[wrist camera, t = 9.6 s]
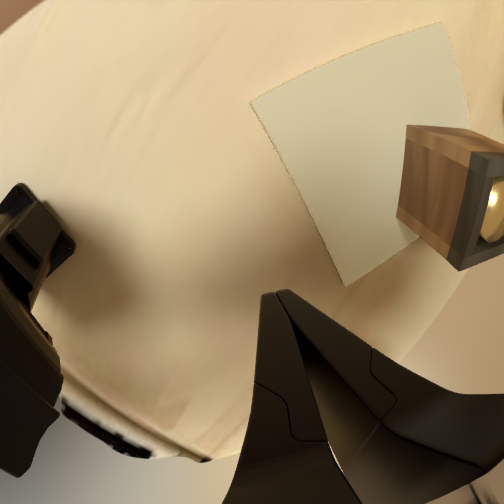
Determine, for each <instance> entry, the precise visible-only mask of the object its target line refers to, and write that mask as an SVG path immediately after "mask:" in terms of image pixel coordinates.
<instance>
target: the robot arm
mask: <svg viewBox="0 0 504 504" xmlns="http://www.w3.org/2000/svg"><path fill="white" fill-rule="evenodd" d="M17 189H19V190H20V191H21V194H19V193H18V191H17ZM67 246H70V247H71V248H72V249H69V248H67ZM75 249H76V244H75V243H74V241H73V240H72V239H71V238H70V237H69V236H68V235H67V234H66V233H65V232H64V231H63V230H62V229H61V226H60V225H59V224H58V223H57V222H56V220H55V219H54V218H53V217H52V216H51V215H50V214H49V213H48V212H47V210H46V209H45V208H44V207H43V206H42V205H41V203H40V202H38V201H37V200H36V199H35V198H34V197H33V196H32V194H31V193H30V192H29V191H28V190H27V188H26V187H25V186H24V185H23V184H21V183H18V184H16V185H15V186H14V187H13V188H12V189H11V191H10V192H9V193H8V194H7V196H6V197H5V198H4V200H3V201H2V202H1V203H0V469H1V470H3V471H5V472H7V473H9V474H10V475H12V476H14V477H16V478H19V477H21V476H22V475H23V474H24V473H25V472H26V471H27V470H28V469H29V468H30V466H31V464H32V460H33V457H34V454H35V451H36V448H37V446H38V443H39V441H40V439H41V437H42V436H43V434H44V433H45V431H46V430H47V428H48V427H49V426H50V425H51V424H52V423H53V422H54V421H55V420H56V419H57V418H58V417H59V415H60V413H59V412H58V411H57V410H56V409H55V408H53V407H54V406H55V404H56V401H57V399H58V397H59V394H60V392H61V389H62V384H63V380H64V376H63V375H62V374H61V373H60V372H61V369H60V358H59V356H58V354H57V352H56V350H55V348H54V347H53V344H52V337H51V336H50V335H49V333H48V332H47V331H44V329H43V328H42V327H41V325H40V324H39V323H38V321H37V320H36V319H35V317H34V316H33V315H32V313H31V311H32V308H33V306H34V303H35V301H36V298H37V296H38V294H39V291H40V289H41V287H42V285H43V282H44V280H45V279H46V278H47V277H48V276H49V275H50V274H51V273H52V272H53V271H54V270H55V269H56V268H58V267H59V266H60V265H61V264H62V263H63V262H64V261H65V260H66V259H68V258H69V257H70V256H71V255H72V254H73V253H74V252H75ZM328 442H329V443H328ZM329 444H330V446H331V448H332V450H333V452H334V454H335V456H336V458H337V460H338V462H339V465H340V466H341V469H342V470H343V472H342V471H341V469H340V468H339V466H338V464H337V463H336V461H335V459H334V457H333V454H332V451H331V449H330V446H329ZM343 473H344V474H343ZM344 475H345V476H344ZM222 504H504V394H460V393H455V392H452V391H449V390H447V389H445V388H443V387H440V386H439V385H437V384H435V383H433V382H431V381H429V380H427V379H425V378H423V377H421V376H419V375H418V374H416V373H414V372H412V371H410V370H408V369H407V368H405V367H403V366H401V365H399V364H398V363H396V362H394V361H393V360H391V359H390V358H388V357H387V356H385V355H384V354H382V353H381V352H379V351H378V350H376V349H375V348H372V346H370V345H369V344H367V343H366V342H364V341H363V340H362V339H360V338H359V337H357V336H356V335H354V334H353V333H351V332H350V331H348V330H347V329H346V328H344V327H343V326H341V325H340V324H338V323H337V322H335V321H334V320H333V319H331V318H330V317H328V316H327V315H325V314H324V313H322V312H321V311H320V310H318V309H317V308H315V307H314V306H312V305H311V304H310V303H308V302H307V301H305V300H304V299H302V298H301V297H299V296H298V295H297V294H295V293H294V292H292V291H291V290H289V289H283V290H279V291H276V292H275V293H274V292H270V293H265V294H262V295H261V301H260V314H259V327H258V340H257V352H256V365H255V377H254V387H253V398H252V406H251V413H250V417H249V422H248V426H247V431H246V434H245V438H244V442H243V446H242V449H241V453H240V457H239V460H238V464H237V468H236V471H235V474H234V478H233V480H232V483H231V486H230V488H229V490H228V493H227V495H226V497H225V498H224V500H223V502H222Z"/></svg>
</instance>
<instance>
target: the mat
mask: <svg viewBox="0 0 504 504" xmlns="http://www.w3.org/2000/svg"><path fill="white" fill-rule="evenodd" d="M249 103H250V105H251V107H252V108H253V110H254V112H255V113H256V115H257V117H258V119H259V120H260V122H261V124H262V126H263V127H264V129H265V131H266V133H267V134H268V136H269V138H270V140H271V141H272V143H273V145H274V147H275V149H276V150H277V152H278V154H279V156H280V158H281V160H282V161H283V163H284V165H285V167H286V169H287V171H288V173H289V174H290V176H291V178H292V180H293V182H294V184H295V186H296V188H297V190H298V192H299V193H300V195H301V197H302V199H303V201H304V203H305V205H306V207H307V209H308V211H309V213H310V215H311V217H312V219H313V221H314V223H315V225H316V227H317V229H318V231H319V233H320V235H321V237H322V239H323V242H324V244H325V246H326V248H327V250H328V252H329V254H330V256H331V258H332V260H333V263H334V265H335V267H336V269H337V271H338V273H339V276H340V278H341V280H342V282H343V284H344V286H345V287H347V286H349V285H350V284H352V283H353V282H355V281H356V280H358V279H359V278H361V277H363V276H364V275H366V274H367V273H369V272H370V271H372V270H373V269H375V268H376V267H378V266H379V265H381V264H382V263H384V262H385V261H387V260H388V259H390V258H391V257H392V256H394V255H395V254H397V253H398V252H400V251H401V250H403V249H404V248H405V247H407V246H408V245H410V244H411V243H412V242H414V241H415V240H417V239H418V238H419V237H420V236H419V235H417V234H416V233H415V232H414V231H413V230H411V229H410V228H409V227H408V226H407V225H405V224H404V223H403V222H402V221H400V220H399V219H398V218H397V217H396V213H397V207H398V200H399V193H400V186H401V178H402V170H403V161H404V151H405V139H406V125H425V126H440V127H452V128H463V129H468V130H471V125H470V119H469V113H468V108H467V103H466V98H465V93H464V89H463V85H462V80H461V76H460V72H459V69H458V65H457V61H456V58H455V54H454V51H453V48H452V45H451V42H450V39H449V36H448V33H447V30H446V27H445V24H444V22H439V23H435V24H432V25H428V26H425V27H421V28H418V29H415V30H411V31H408V32H405V33H402V34H399V35H396V36H393V37H390V38H387V39H384V40H382V41H379V42H376V43H373V44H371V45H368V46H366V47H363V48H360V49H358V50H355V51H353V52H350V53H348V54H346V55H343V56H341V57H338V58H336V59H334V60H332V61H329V62H327V63H325V64H323V65H320V66H318V67H316V68H314V69H312V70H310V71H307V72H305V73H303V74H301V75H299V76H297V77H295V78H293V79H291V80H289V81H287V82H285V83H283V84H281V85H279V86H277V87H275V88H274V89H272V90H270V91H268V92H266V93H264V94H262V95H260V96H259V97H257V98H255V99H253V100H251V101H250V102H249Z"/></svg>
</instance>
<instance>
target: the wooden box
mask: <svg viewBox="0 0 504 504" xmlns="http://www.w3.org/2000/svg"><path fill="white" fill-rule="evenodd" d="M497 176H504V145H503V144H501V143H499V142H497V141H494V140H492V139H490V138H488V137H485V136H483V135H481V134H478V133H476V132H473V131H471V130H468V129H463V128H452V127H440V126H425V125H406V139H405V151H404V161H403V170H402V178H401V186H400V193H399V200H398V207H397V213H396V217H397V218H398V219H399V220H400V221H402V222H403V223H404V224H405V225H407V226H408V227H409V228H410V229H411V230H413V231H414V232H415V233H416V234H417V235H419V236H420V237H421V238H422V239H423V240H424V241H426V242H427V243H428V244H429V245H430V246H431V247H432V248H434V249H435V250H436V251H437V252H438V253H439V254H440V255H441V256H443V257H444V258H445V259H446V260H447V261H448V262H449V263H450V264H451V265H452V266H453V267H454V268H456V269H457V270H458V271H462V270H464V269H467V268H470V267H472V266H474V265H477V264H479V263H482V262H484V261H487V260H489V259H491V258H494V257H496V256H498V255H501V254H503V253H504V235H503V236H502V237H501V238H500V239H498V240H497V241H495V242H492V243H489V242H487V241H486V240H485V239H483V238H482V237H481V236H480V235H479V234H480V231H481V228H482V224H483V221H484V217H485V214H486V210H487V206H488V202H489V198H490V194H491V190H492V185H493V181H494V177H497Z"/></svg>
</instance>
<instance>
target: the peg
mask: <svg viewBox="0 0 504 504" xmlns="http://www.w3.org/2000/svg"><path fill="white" fill-rule="evenodd" d="M479 235H480V236H481V237H482V238H483V239H485V240H486V241H487V242H489V243H492V242H495V241H497V240H498V239H500V238H501V237H502V236H503V235H504V176H497V177H494V181H493V185H492V190H491V194H490V198H489V202H488V206H487V210H486V214H485V217H484V221H483V224H482V228H481V231H480V234H479Z"/></svg>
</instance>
